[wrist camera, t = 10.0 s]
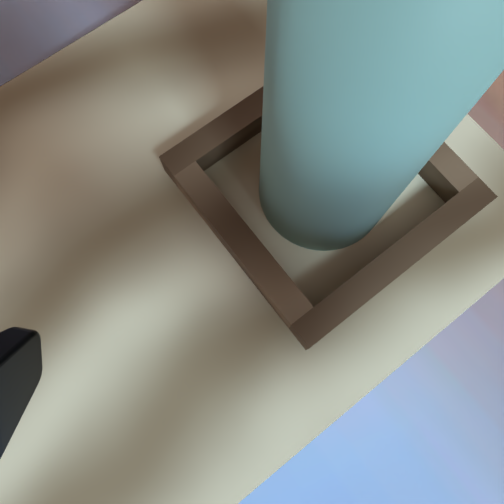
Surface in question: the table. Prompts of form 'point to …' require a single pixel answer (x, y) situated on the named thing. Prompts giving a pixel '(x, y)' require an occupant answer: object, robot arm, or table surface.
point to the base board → (202, 267)
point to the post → (364, 104)
